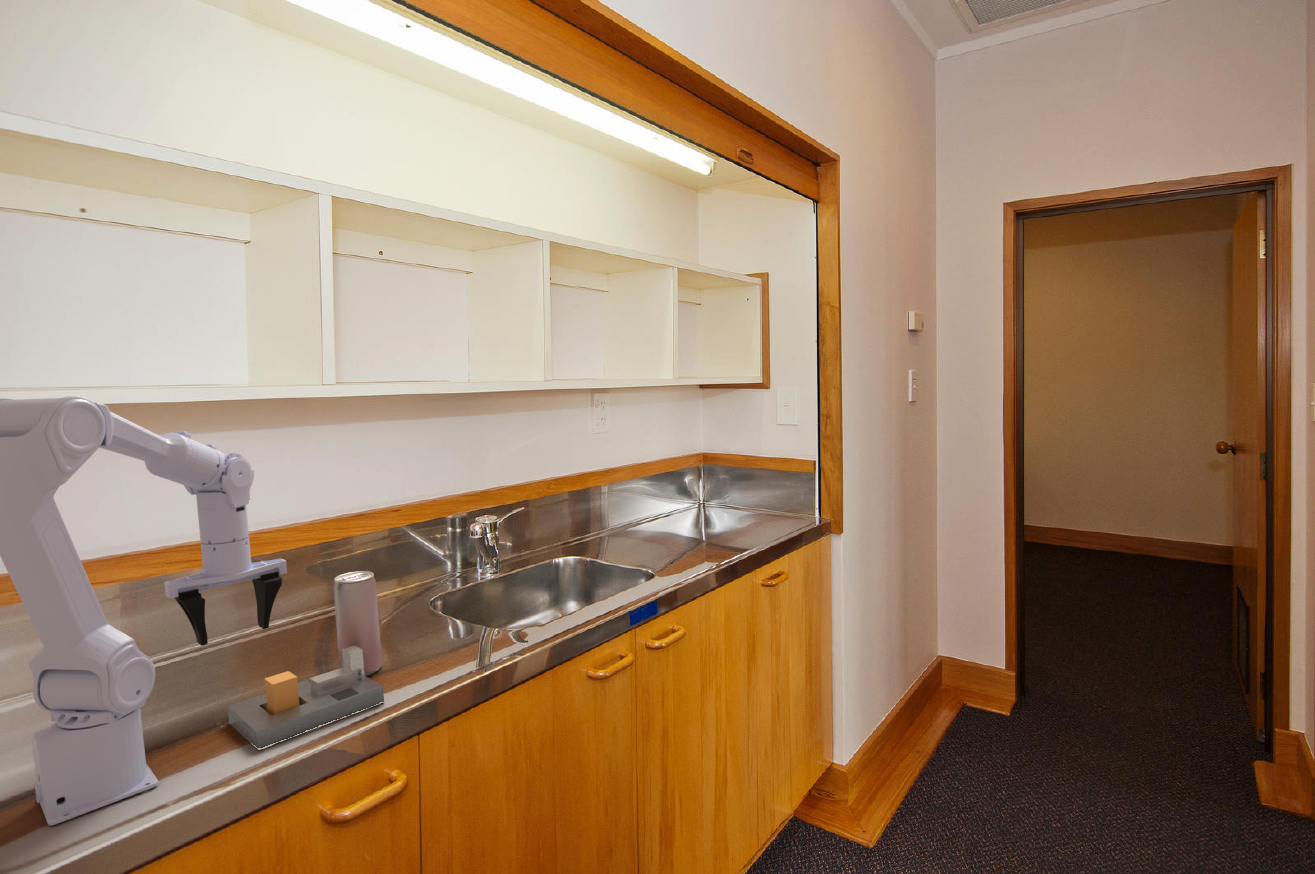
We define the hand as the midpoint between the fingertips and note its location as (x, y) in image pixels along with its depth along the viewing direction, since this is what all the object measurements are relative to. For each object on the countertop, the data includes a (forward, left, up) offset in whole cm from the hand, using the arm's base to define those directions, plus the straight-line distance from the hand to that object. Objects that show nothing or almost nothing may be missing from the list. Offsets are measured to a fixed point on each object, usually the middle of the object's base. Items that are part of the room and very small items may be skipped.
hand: (234, 635), depth 98 cm
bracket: (+9, -11, -8) cm, 16 cm away
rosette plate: (+5, -11, -10) cm, 16 cm away
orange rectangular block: (+2, -11, -10) cm, 15 cm away
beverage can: (+16, -3, -10) cm, 19 cm away
